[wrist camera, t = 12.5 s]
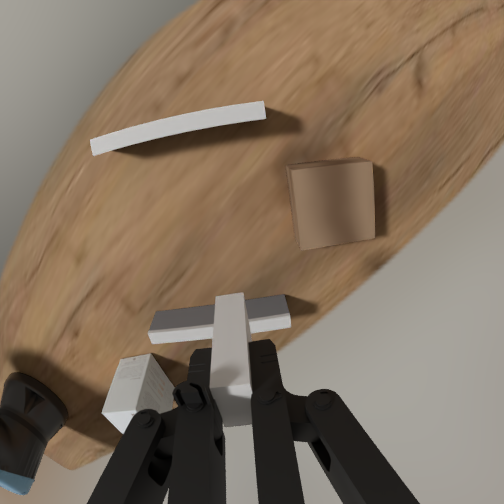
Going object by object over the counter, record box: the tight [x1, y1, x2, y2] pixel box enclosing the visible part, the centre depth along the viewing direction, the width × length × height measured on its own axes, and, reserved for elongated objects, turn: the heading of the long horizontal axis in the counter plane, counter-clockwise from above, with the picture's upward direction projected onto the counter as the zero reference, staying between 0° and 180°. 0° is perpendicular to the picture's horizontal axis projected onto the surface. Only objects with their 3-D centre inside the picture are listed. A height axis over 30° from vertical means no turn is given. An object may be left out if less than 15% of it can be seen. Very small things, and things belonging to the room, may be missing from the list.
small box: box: [102, 353, 175, 434], centre depth 36 cm, size 8×6×10 cm
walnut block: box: [285, 157, 375, 251], centre depth 30 cm, size 8×8×4 cm
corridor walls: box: [90, 101, 291, 344], centre depth 30 cm, size 16×23×4 cm
